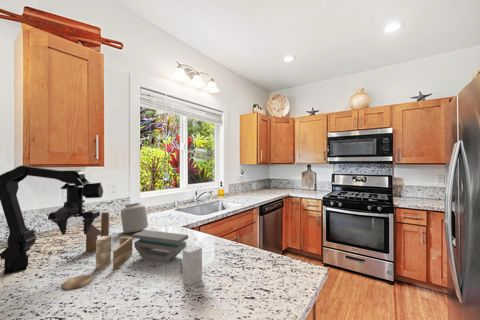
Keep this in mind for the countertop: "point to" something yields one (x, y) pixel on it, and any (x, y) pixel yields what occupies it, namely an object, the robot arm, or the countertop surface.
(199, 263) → the skincare box
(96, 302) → the countertop surface
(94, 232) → the wooden block
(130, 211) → the jar
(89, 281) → the coaster
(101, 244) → the pale wood block
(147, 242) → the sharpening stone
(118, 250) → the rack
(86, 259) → the countertop surface
